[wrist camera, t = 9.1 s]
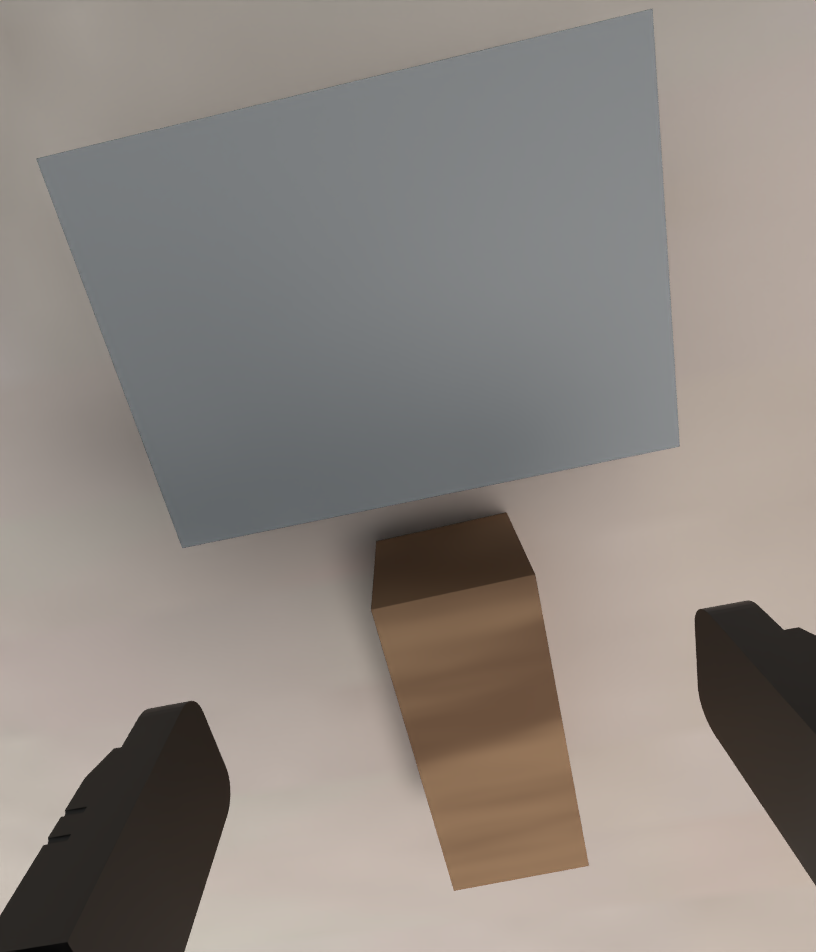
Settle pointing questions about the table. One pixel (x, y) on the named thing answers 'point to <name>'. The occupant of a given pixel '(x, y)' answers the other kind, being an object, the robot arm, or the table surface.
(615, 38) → the grey board
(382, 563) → the walnut block
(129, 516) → the table surface
